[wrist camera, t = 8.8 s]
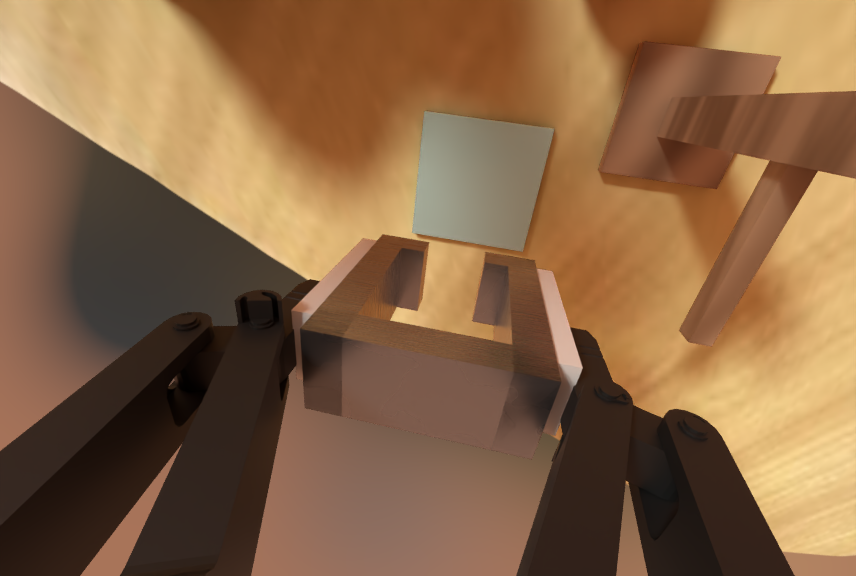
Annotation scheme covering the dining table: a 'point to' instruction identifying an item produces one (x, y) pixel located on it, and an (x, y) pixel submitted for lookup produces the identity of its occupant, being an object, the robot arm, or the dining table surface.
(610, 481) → the robot arm
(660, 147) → the stand
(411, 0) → the dining table surface
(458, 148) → the coaster
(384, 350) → the c link
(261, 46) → the dining table surface
